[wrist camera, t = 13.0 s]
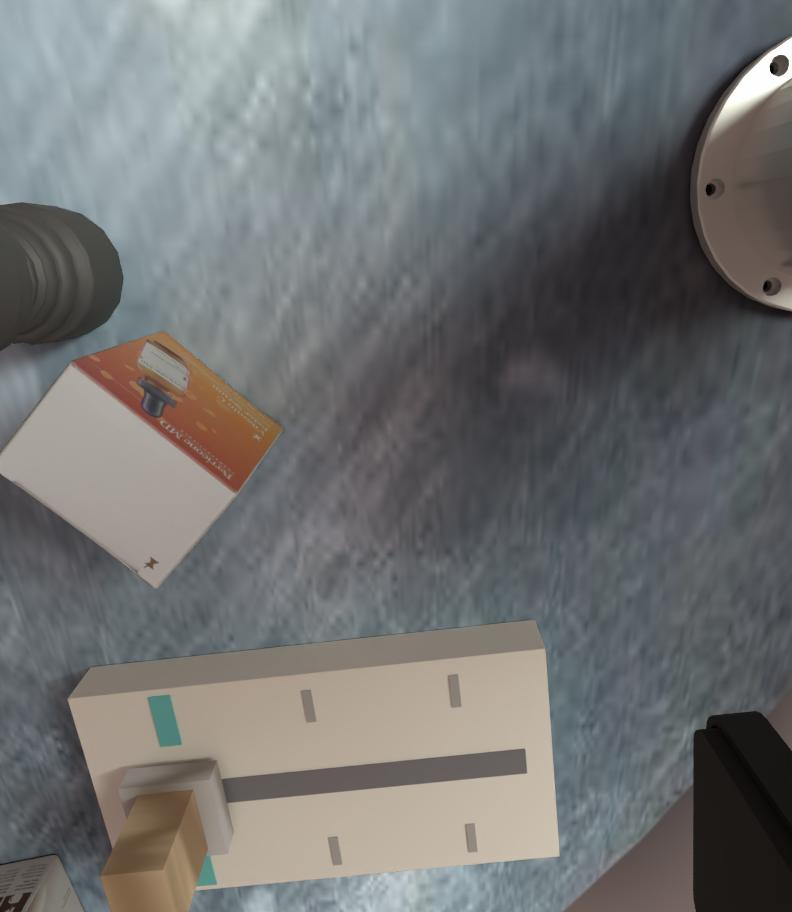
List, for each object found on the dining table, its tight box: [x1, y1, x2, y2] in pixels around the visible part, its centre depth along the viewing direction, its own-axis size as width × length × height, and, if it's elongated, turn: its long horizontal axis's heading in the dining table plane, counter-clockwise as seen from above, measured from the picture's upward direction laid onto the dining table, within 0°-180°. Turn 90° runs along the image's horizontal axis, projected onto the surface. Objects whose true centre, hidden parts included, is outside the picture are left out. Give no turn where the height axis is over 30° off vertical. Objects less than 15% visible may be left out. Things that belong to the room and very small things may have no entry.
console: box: [68, 620, 559, 891], centre depth 41 cm, size 26×14×3 cm, turn 97°
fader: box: [100, 760, 234, 912], centre depth 36 cm, size 5×5×6 cm
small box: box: [0, 331, 283, 589], centre depth 31 cm, size 8×6×10 cm
